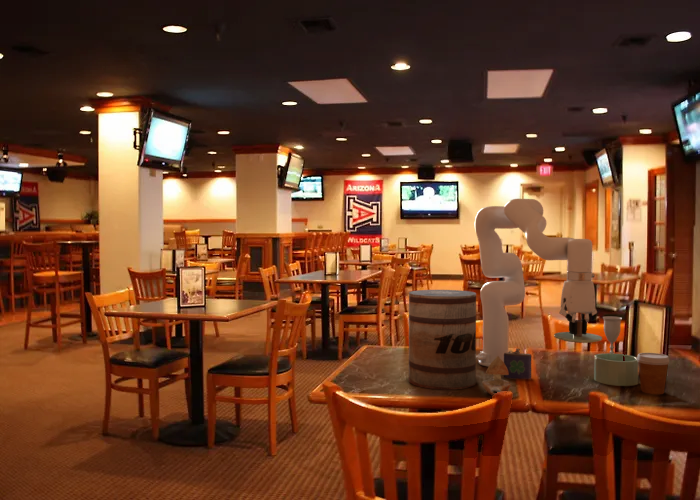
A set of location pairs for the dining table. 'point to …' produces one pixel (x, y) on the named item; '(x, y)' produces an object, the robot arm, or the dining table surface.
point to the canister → (616, 369)
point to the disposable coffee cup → (652, 372)
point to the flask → (518, 365)
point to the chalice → (612, 329)
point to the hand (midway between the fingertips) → (577, 333)
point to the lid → (578, 335)
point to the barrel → (442, 339)
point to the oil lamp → (496, 377)
